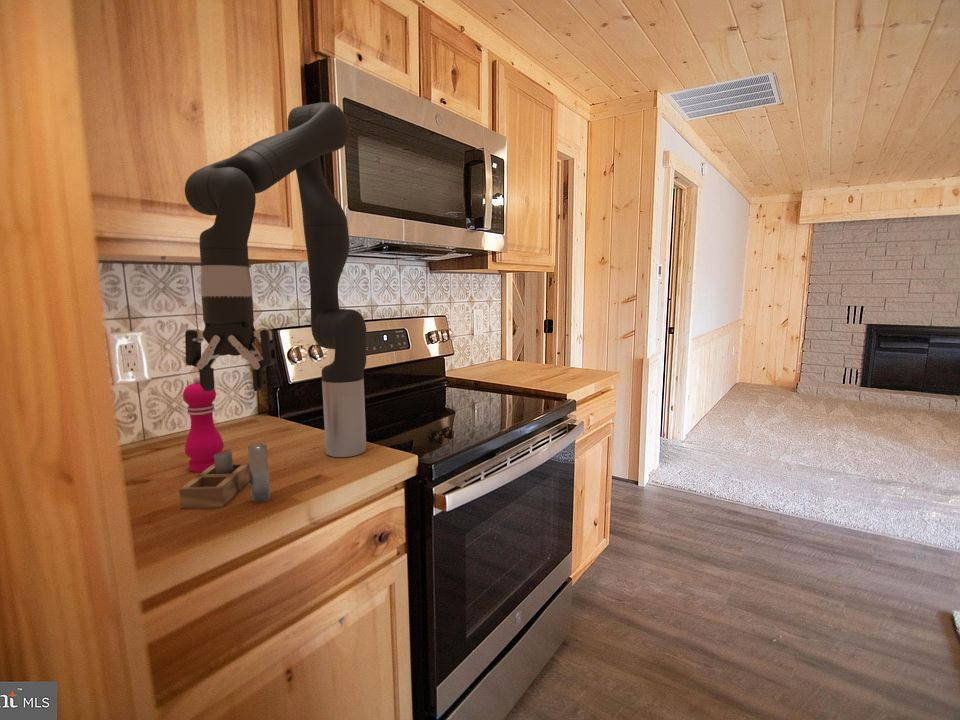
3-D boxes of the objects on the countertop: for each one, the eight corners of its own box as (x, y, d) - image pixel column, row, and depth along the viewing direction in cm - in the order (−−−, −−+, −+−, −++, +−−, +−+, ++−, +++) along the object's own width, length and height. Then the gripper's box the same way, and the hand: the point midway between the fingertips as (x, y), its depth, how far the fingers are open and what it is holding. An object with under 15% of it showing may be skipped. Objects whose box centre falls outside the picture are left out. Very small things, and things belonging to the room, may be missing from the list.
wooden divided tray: (214, 480, 95) (211, 449, 94) (250, 479, 96) (248, 448, 95) (181, 508, 84) (177, 472, 83) (222, 507, 84) (219, 471, 83)
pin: (256, 495, 89) (252, 443, 87) (272, 495, 89) (268, 443, 87) (249, 502, 86) (245, 449, 84) (266, 502, 86) (262, 448, 84)
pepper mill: (216, 458, 108) (209, 371, 105) (231, 465, 104) (223, 374, 101) (181, 467, 103) (172, 375, 100) (194, 476, 98) (185, 380, 95)
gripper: (279, 294, 83) (284, 386, 85) (198, 294, 83) (205, 386, 85) (259, 294, 76) (265, 395, 78) (170, 294, 76) (178, 394, 78)
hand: (233, 390), depth 82 cm, fingers open, 8 cm apart
